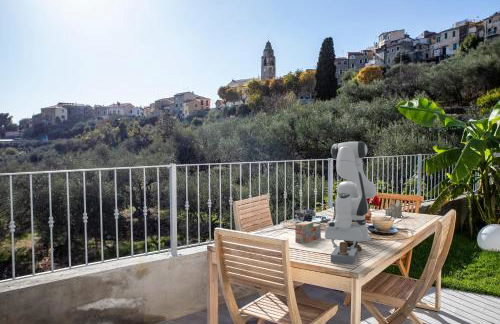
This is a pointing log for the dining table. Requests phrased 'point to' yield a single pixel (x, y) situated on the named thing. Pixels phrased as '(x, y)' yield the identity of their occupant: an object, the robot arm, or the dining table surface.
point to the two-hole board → (344, 256)
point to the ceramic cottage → (394, 210)
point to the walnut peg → (343, 248)
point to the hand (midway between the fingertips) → (343, 248)
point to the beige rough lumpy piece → (353, 243)
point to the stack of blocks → (307, 232)
